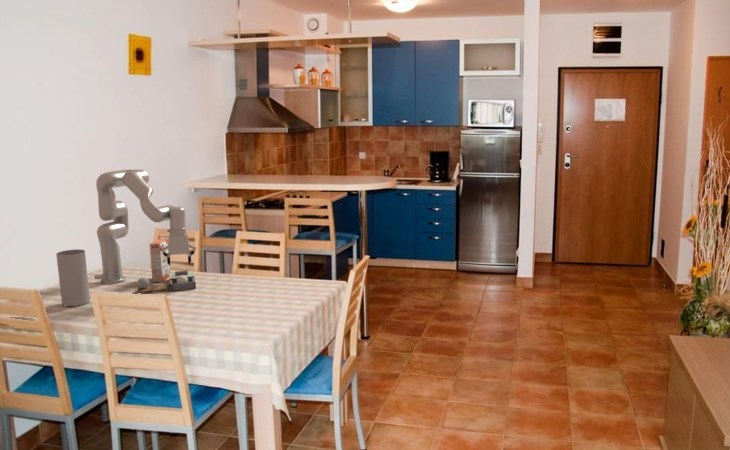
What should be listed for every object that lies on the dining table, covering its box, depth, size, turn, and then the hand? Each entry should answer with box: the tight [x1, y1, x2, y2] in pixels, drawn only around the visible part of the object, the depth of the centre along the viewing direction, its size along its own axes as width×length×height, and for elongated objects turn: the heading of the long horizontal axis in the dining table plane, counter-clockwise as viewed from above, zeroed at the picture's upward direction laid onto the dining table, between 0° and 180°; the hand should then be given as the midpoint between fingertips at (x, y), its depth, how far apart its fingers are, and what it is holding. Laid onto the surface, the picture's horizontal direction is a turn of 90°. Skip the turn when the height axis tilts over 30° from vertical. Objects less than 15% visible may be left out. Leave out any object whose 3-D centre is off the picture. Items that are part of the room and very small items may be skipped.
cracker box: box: [149, 238, 171, 283], centre depth 367 cm, size 14×6×21 cm, turn 179°
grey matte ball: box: [137, 277, 150, 289], centre depth 345 cm, size 6×6×6 cm
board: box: [136, 283, 168, 295], centre depth 347 cm, size 14×10×2 cm
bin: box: [168, 276, 197, 292], centre depth 357 cm, size 12×25×4 cm, turn 17°
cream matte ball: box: [177, 275, 188, 283], centre depth 351 cm, size 6×6×6 cm
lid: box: [168, 270, 195, 279], centre depth 360 cm, size 12×12×3 cm
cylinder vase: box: [55, 249, 91, 307], centre depth 326 cm, size 12×12×25 cm
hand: (179, 264), depth 350 cm, fingers open, 9 cm apart
